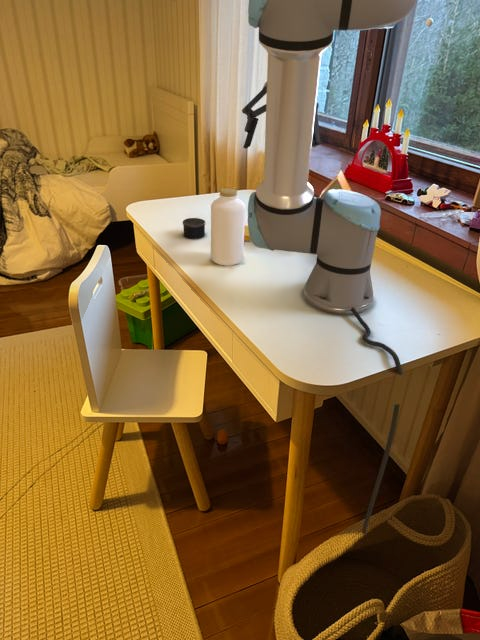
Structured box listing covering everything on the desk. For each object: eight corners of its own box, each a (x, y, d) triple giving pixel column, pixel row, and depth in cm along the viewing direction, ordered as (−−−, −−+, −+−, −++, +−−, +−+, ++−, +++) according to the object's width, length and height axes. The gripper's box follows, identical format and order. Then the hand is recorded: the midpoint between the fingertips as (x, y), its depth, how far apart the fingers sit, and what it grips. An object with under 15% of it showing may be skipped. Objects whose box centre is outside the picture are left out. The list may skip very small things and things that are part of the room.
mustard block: (265, 241, 135) (265, 236, 134) (244, 240, 134) (244, 235, 133) (262, 230, 141) (262, 225, 141) (241, 230, 141) (242, 225, 140)
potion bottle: (229, 270, 118) (231, 198, 108) (204, 260, 122) (203, 190, 112) (249, 259, 123) (253, 190, 114) (224, 251, 128) (225, 183, 118)
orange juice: (312, 250, 130) (321, 176, 119) (317, 238, 137) (326, 167, 126) (340, 254, 128) (352, 179, 117) (344, 242, 135) (356, 171, 125)
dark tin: (205, 239, 134) (205, 225, 132) (182, 239, 133) (182, 225, 131) (205, 231, 139) (205, 217, 137) (183, 230, 139) (182, 217, 137)
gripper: (333, 102, 120) (309, 181, 120) (246, 55, 112) (219, 140, 111) (350, 91, 113) (324, 175, 113) (258, 40, 105) (229, 131, 104)
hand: (272, 158), depth 112 cm, fingers open, 13 cm apart
